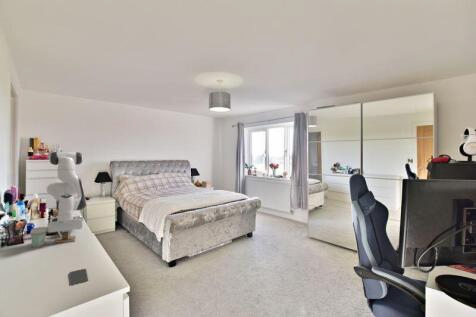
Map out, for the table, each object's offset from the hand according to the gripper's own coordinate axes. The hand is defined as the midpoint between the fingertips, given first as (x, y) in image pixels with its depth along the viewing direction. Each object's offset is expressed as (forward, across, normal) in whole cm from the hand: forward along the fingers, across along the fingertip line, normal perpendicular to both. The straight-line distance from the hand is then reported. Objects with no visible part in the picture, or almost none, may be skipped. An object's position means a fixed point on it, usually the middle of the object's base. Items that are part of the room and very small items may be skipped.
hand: (65, 236), depth 160 cm
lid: (+3, 0, 0) cm, 3 cm away
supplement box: (+3, -2, -16) cm, 16 cm away
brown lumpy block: (+3, +7, -26) cm, 27 cm away
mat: (+3, 0, 0) cm, 3 cm away
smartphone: (+4, -9, +67) cm, 68 cm away
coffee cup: (+3, +14, +4) cm, 15 cm away
